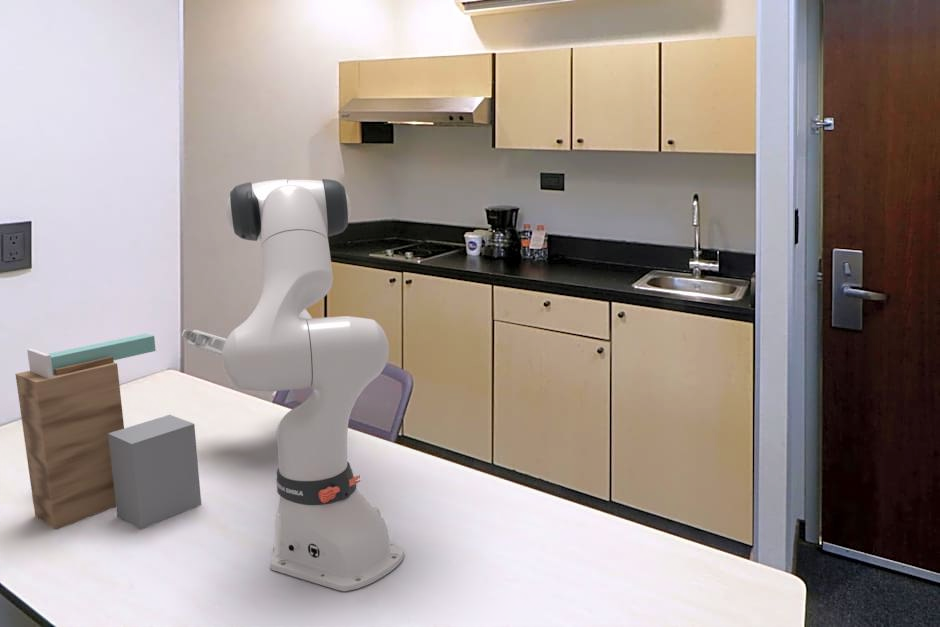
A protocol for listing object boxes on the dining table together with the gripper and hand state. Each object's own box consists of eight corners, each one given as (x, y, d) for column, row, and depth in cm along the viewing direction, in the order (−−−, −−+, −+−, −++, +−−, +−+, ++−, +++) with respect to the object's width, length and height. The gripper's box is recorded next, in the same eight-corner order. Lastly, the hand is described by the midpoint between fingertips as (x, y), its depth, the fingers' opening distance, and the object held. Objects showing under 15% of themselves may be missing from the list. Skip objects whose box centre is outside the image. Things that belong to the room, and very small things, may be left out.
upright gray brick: (201, 504, 141) (194, 423, 138) (140, 529, 132) (131, 444, 129) (177, 492, 146) (169, 414, 143) (117, 516, 137) (107, 433, 133)
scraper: (161, 352, 145) (159, 332, 144) (48, 378, 128) (45, 356, 128) (141, 346, 149) (139, 327, 148) (30, 371, 133) (27, 349, 132)
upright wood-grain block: (131, 500, 143) (116, 358, 137) (55, 529, 132) (35, 376, 126) (110, 489, 148) (94, 351, 142) (35, 516, 137) (14, 368, 131)
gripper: (225, 334, 170) (174, 315, 159) (284, 351, 158) (233, 331, 147) (215, 361, 169) (163, 343, 158) (273, 380, 157) (221, 362, 146)
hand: (197, 337), depth 153 cm, fingers open, 8 cm apart
